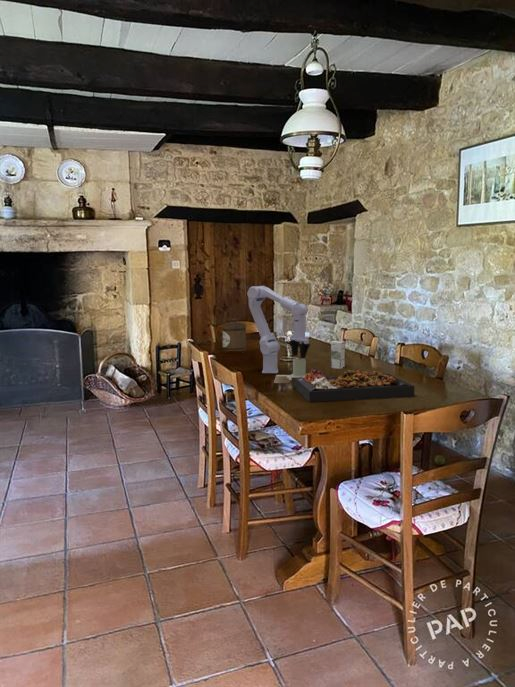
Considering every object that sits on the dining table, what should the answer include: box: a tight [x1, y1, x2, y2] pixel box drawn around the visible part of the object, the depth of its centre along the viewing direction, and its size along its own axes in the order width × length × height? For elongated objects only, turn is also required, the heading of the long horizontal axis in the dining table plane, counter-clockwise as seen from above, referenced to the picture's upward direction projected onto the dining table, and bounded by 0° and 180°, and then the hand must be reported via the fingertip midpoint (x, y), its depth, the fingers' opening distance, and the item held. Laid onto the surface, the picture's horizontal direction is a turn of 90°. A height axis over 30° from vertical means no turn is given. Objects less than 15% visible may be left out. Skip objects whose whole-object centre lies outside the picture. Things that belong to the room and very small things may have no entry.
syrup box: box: [330, 339, 346, 370], centre depth 263 cm, size 6×6×14 cm
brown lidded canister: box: [221, 317, 247, 351], centre depth 311 cm, size 15×15×22 cm
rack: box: [274, 374, 292, 381], centre depth 239 cm, size 5×8×2 cm, turn 86°
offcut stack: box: [273, 375, 290, 384], centre depth 232 cm, size 2×7×3 cm, turn 89°
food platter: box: [293, 365, 415, 403], centre depth 215 cm, size 45×25×10 cm, turn 100°
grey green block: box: [292, 358, 307, 376], centre depth 244 cm, size 2×6×8 cm, turn 116°
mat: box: [290, 373, 308, 379], centre depth 245 cm, size 8×8×1 cm
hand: (299, 356), depth 244 cm, fingers open, 7 cm apart
